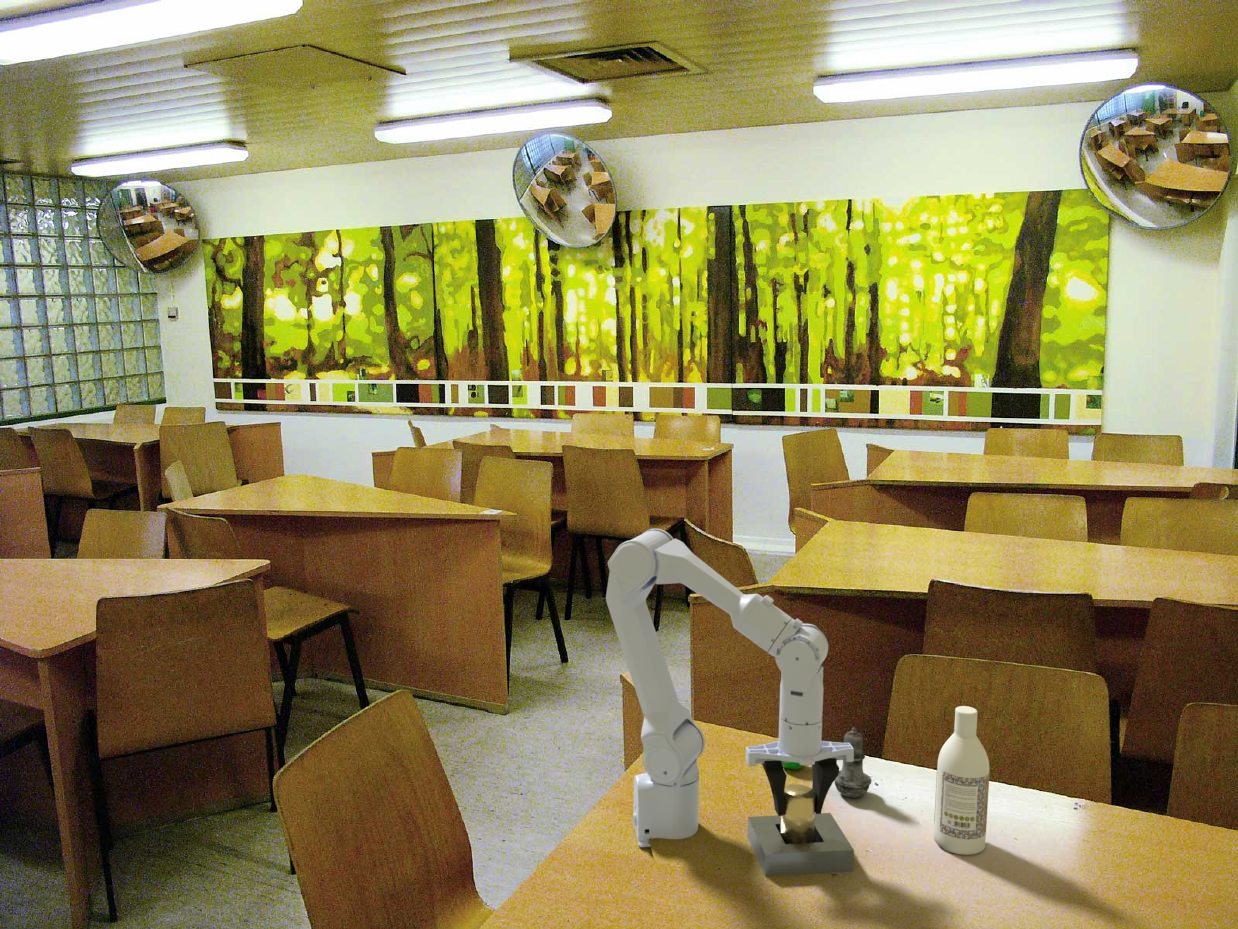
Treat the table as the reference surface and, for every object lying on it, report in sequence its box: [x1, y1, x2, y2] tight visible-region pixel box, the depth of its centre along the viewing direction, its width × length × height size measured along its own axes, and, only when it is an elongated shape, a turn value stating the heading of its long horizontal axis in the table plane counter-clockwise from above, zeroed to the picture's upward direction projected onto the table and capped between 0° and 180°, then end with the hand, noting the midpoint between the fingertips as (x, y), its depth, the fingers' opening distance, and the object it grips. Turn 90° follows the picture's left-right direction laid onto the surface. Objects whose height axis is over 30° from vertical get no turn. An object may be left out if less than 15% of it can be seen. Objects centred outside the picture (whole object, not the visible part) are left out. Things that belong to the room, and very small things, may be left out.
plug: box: [780, 783, 816, 844], centre depth 135 cm, size 5×5×6 cm
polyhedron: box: [782, 762, 804, 771], centre depth 164 cm, size 5×5×5 cm
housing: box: [747, 812, 855, 877], centre depth 136 cm, size 12×10×4 cm
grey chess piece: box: [834, 726, 872, 799], centre depth 152 cm, size 6×6×12 cm
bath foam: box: [933, 705, 991, 856], centre depth 139 cm, size 7×7×20 cm
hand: (797, 811), depth 135 cm, fingers closed on plug, 5 cm apart
